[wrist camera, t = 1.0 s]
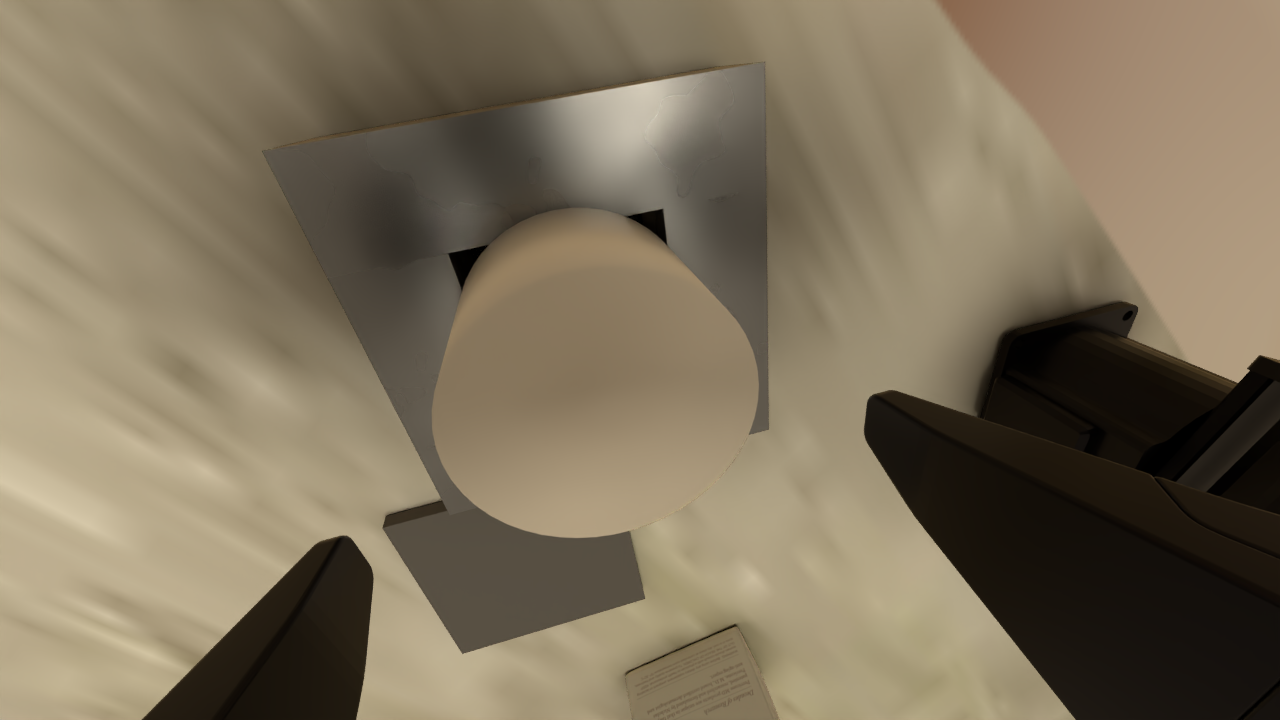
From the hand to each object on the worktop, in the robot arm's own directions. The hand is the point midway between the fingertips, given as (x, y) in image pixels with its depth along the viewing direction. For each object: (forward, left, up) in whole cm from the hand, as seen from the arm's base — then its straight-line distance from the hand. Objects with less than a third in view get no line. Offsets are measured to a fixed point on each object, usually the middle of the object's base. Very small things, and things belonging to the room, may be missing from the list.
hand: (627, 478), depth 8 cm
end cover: (0, 0, -9) cm, 9 cm away
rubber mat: (+5, +12, -9) cm, 16 cm away
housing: (0, 0, -9) cm, 9 cm away
